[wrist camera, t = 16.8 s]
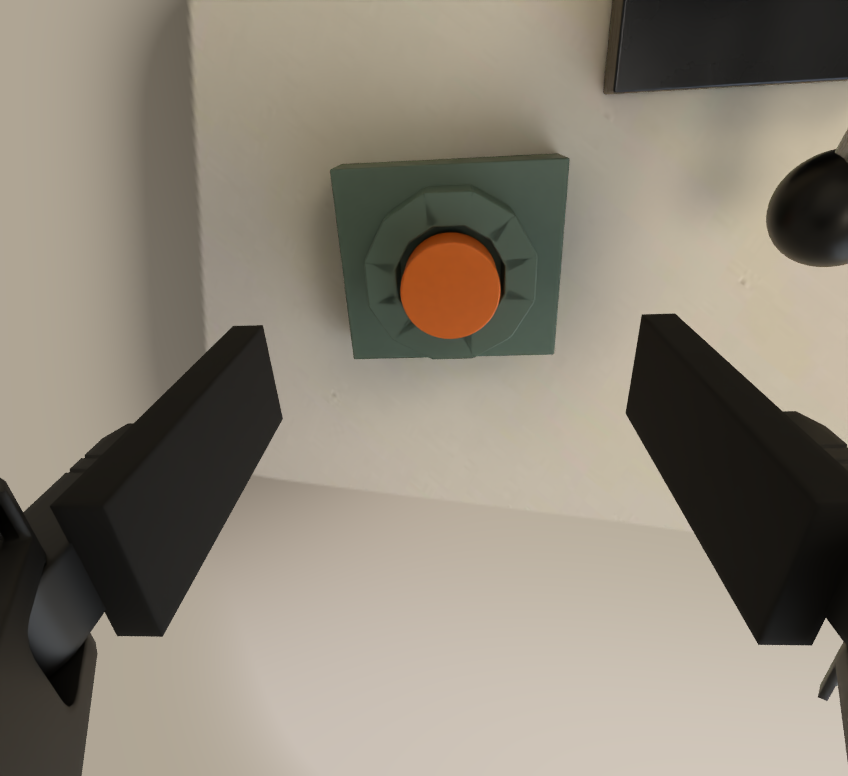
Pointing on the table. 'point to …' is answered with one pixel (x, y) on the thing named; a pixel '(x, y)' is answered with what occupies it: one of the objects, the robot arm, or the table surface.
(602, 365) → the table surface
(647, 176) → the table surface
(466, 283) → the button
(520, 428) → the table surface
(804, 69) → the bracket
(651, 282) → the table surface
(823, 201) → the lever
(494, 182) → the control block
